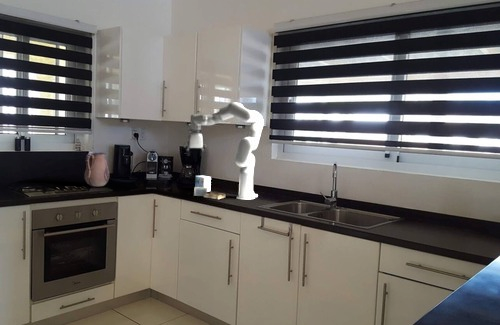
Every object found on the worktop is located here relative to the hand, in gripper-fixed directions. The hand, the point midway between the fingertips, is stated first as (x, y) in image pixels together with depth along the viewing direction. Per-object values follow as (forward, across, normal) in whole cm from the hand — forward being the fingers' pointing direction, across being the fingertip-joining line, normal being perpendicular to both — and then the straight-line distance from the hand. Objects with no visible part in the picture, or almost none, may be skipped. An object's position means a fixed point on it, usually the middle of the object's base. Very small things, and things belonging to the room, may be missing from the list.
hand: (194, 155), depth 295 cm
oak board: (+26, +9, -21) cm, 35 cm away
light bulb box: (+27, +9, +7) cm, 29 cm away
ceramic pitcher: (+27, -64, +41) cm, 80 cm away
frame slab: (+27, +1, -12) cm, 29 cm away
